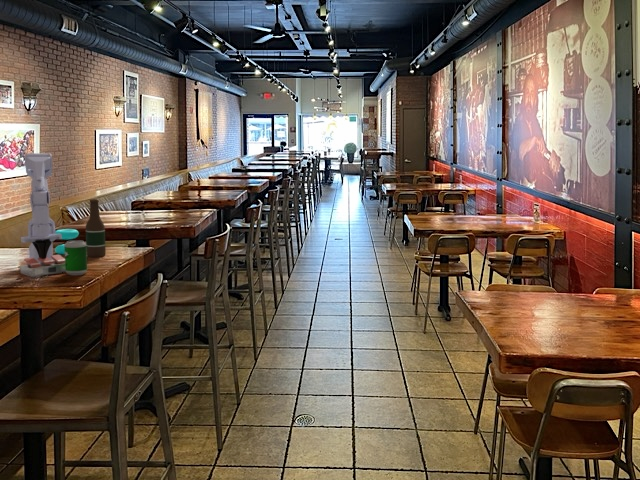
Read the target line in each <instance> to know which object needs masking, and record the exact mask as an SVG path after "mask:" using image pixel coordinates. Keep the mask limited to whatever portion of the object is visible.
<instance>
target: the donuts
mask: <svg viewBox="0 0 640 480" xmlns="http://www.w3.org/2000/svg"><path fill="white" fill-rule="evenodd" d="M55 234H62V239H61V240H73V239H76V238H77V237H79V234H80V232H79V231H78V230H77V229H72V228H65V229H64V228H63V229H57V230H55ZM64 244H65V243H64ZM64 244H60V245H59V244H58V245H57V246H56V247H55V248H54V252H55V253H56V255H65V247H64Z"/></svg>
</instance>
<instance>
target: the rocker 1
mask: <svg viewBox="0 0 640 480" xmlns="http://www.w3.org/2000/svg"><path fill="white" fill-rule="evenodd" d="M23 261H24V262H26V264H27V263H28V264H29V265H30V266H31V267H38V266H41V264H40V263H39V262H38V261H37V260H35V259H34V258H29V257H27V258H26V257H25V258H24V260H23Z"/></svg>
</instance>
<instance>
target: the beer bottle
mask: <svg viewBox="0 0 640 480" xmlns="http://www.w3.org/2000/svg"><path fill="white" fill-rule="evenodd" d="M85 243H86V253H87V258H100V257H101V258H102V257H105V256H106V252H107V251H106V249H107V248H106V228H105V224H104V222H103V220H102V219H101V215H100V208H99V199H97V198H96V199H95V198H93V199H89V218H88V220H87V222H86V224H85Z"/></svg>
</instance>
